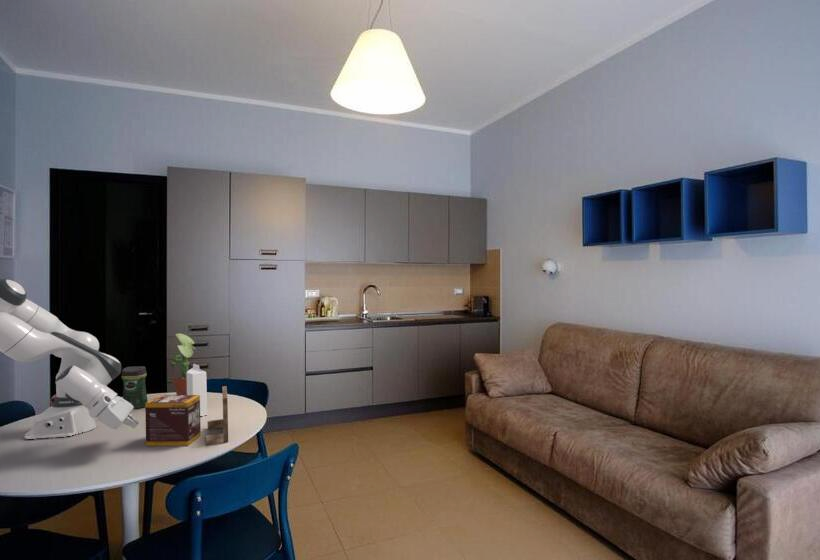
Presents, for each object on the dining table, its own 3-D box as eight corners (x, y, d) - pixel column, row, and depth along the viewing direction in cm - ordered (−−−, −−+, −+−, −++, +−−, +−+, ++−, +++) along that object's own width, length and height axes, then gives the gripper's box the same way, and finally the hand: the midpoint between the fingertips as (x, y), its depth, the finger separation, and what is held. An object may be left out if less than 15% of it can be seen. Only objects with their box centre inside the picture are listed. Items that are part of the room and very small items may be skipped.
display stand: (206, 445, 170) (205, 400, 169) (207, 428, 187) (206, 388, 187) (228, 442, 172) (227, 398, 172) (227, 426, 190) (226, 386, 190)
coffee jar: (150, 404, 222) (149, 364, 222) (142, 409, 214) (141, 368, 214) (128, 404, 221) (127, 365, 221) (119, 410, 214) (118, 368, 213)
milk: (193, 419, 200) (191, 366, 199) (187, 416, 204) (185, 364, 203) (207, 415, 204) (206, 364, 203) (201, 412, 208) (200, 362, 207)
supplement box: (188, 446, 169) (187, 402, 169) (145, 446, 169) (144, 402, 169) (201, 435, 180) (200, 394, 179) (161, 435, 180) (160, 394, 179)
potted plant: (163, 407, 216) (161, 330, 215) (189, 398, 231) (187, 326, 230) (190, 410, 211) (188, 332, 210) (215, 401, 225) (213, 327, 224)
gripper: (103, 401, 174) (135, 424, 178) (87, 417, 155) (123, 442, 159) (117, 387, 176) (148, 410, 179) (102, 401, 156) (138, 427, 160)
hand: (136, 425), depth 169 cm, fingers closed
